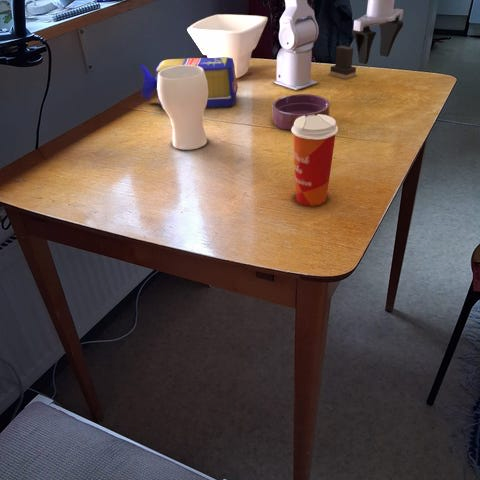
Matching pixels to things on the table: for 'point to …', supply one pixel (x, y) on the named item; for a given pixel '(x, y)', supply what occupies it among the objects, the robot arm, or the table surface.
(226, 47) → the bowl
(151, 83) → the bread
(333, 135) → the paper cup
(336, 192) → the table surface
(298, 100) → the plum bowl
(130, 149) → the table surface
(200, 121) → the cup
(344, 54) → the brush
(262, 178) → the table surface
